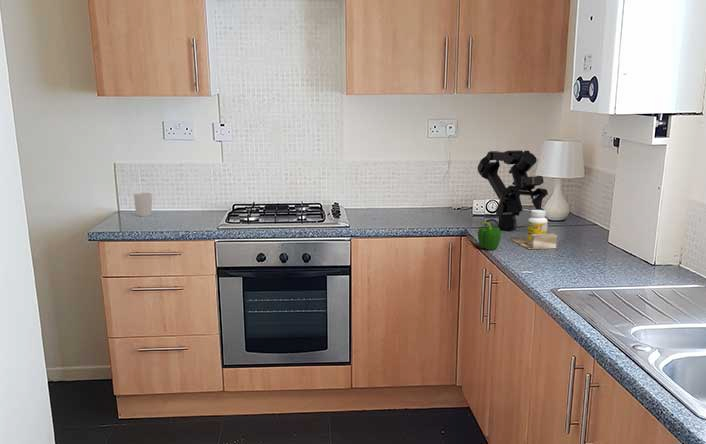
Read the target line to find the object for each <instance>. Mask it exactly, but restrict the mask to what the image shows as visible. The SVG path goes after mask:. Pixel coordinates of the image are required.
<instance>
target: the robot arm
mask: <svg viewBox="0 0 706 444" xmlns="http://www.w3.org/2000/svg"><path fill="white" fill-rule="evenodd" d="M500 162H503V163H504V164H506V165H507V166H508V165H509V166H510V165H512V166H511V167H510V169H509V171H508V174H510V175H512V179H513V181H512V185H508V187H506V185H505V184H504V182H503V180H502V179H501V177H500V176H499V174H498V173H499V169H500V167H501V164H500ZM536 163H537V157H536V156H535V155H534V154H533V153H531V152H530V150H524V151H523V150H521V149H520V150H519V149H518V150H505V151H500V150H499V151H498V150H490V151H488V152H487V153H486V155H485V156H484V157H483V158H481V159H480V161H479V163H478V165H477V172H478V174H479V175H480V176H481V177H482V178H483V179H485V180H487V181H488V182H489V185H490V186H491V188H492V190H493V192H494V193H495V194H496V197H497V198H498V199H499V201H498V205H497V207H496V208H495V215H496V216H498V227H497V228H500V231H506V232H511V231H514V230H517V219H516V216H519V215H520V213H521V212H523V206H522V201H521V196H528V197H530V199H531V203H532V205H533V206H534V208H535V210H542V205H543V199H544V198H545V197H546V196H547V195H549V193H548V190H547V189H546V188H543V187H541V185H542V184H544V177H543V175H537V176H534V175H532V176H528V172H529V171H530V170H531V169H532V167H534V166H535V165H536ZM536 186H540V187H541V188H539V187H538V188H536ZM535 188H536V189H535ZM533 190H534V191H533Z"/></svg>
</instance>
